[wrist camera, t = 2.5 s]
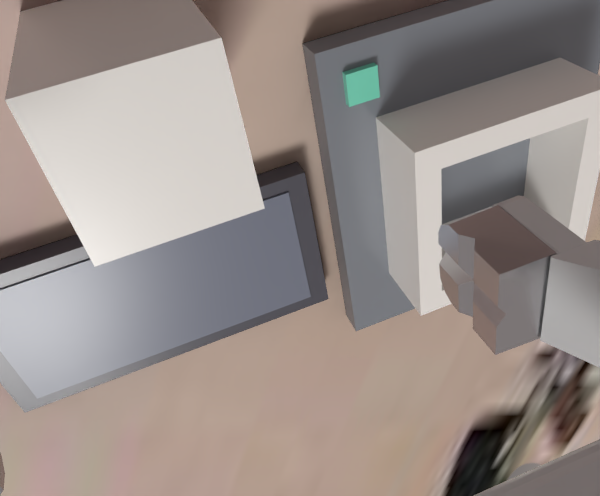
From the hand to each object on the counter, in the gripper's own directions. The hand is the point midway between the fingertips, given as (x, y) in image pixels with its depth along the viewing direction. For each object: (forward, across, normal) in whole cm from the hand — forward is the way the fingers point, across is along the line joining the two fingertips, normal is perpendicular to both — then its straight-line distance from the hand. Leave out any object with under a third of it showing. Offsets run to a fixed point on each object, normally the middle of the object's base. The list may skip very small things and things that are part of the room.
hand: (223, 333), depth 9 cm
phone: (+12, +2, +8) cm, 15 cm away
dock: (+12, -12, +7) cm, 18 cm away
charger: (+12, 0, -1) cm, 12 cm away
